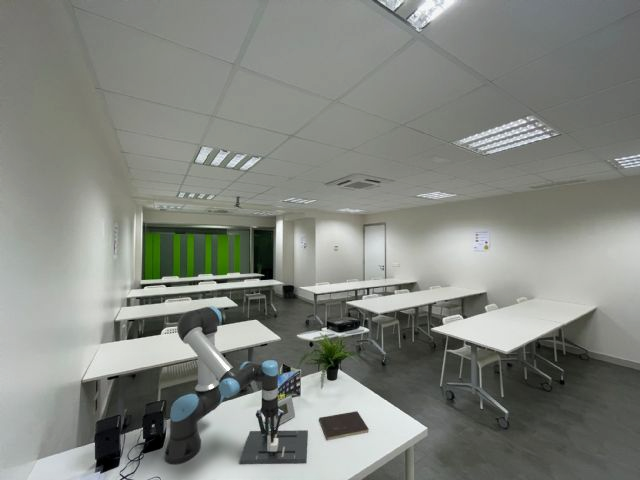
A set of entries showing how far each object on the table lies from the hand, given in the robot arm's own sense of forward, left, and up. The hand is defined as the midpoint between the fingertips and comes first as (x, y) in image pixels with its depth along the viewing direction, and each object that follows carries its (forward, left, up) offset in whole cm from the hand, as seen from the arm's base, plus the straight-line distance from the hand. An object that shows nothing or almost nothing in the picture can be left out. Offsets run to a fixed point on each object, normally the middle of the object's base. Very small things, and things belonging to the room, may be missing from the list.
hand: (269, 448), depth 116 cm
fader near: (+2, 0, -1) cm, 3 cm away
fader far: (-4, +10, -1) cm, 11 cm away
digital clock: (+2, +25, -4) cm, 25 cm away
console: (+2, +5, -4) cm, 7 cm away
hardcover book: (+36, +20, -4) cm, 42 cm away
